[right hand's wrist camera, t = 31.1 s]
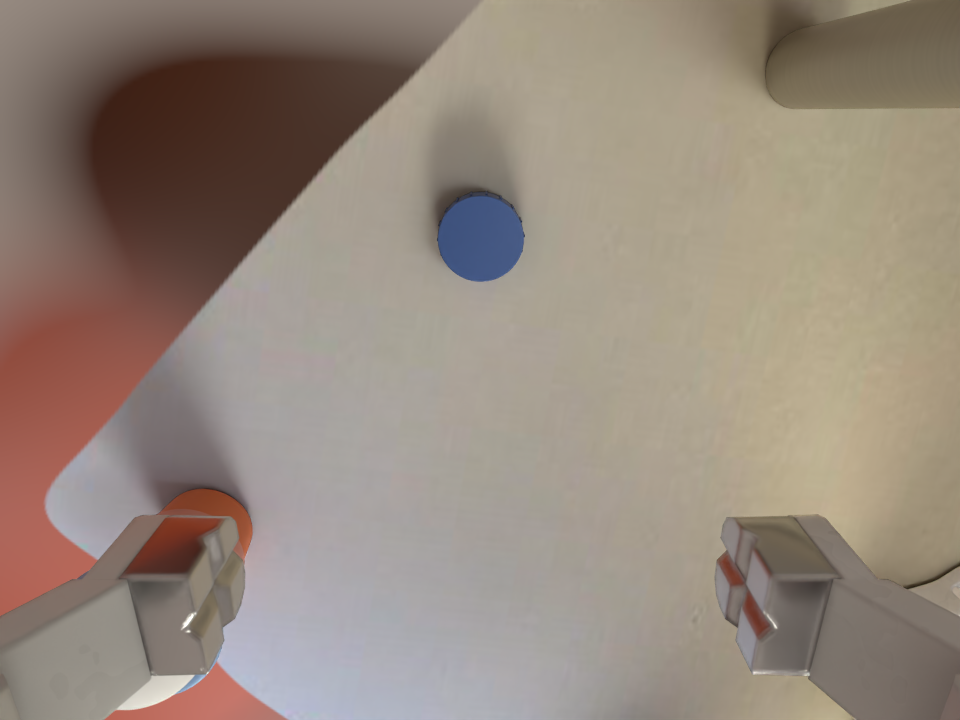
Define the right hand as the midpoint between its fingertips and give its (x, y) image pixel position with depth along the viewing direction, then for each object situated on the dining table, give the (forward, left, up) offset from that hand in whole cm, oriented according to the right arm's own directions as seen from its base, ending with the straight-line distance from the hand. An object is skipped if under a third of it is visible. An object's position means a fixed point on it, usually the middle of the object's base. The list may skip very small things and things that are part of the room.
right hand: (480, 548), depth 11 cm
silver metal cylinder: (-15, -13, -29) cm, 35 cm away
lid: (0, 0, -28) cm, 28 cm away
